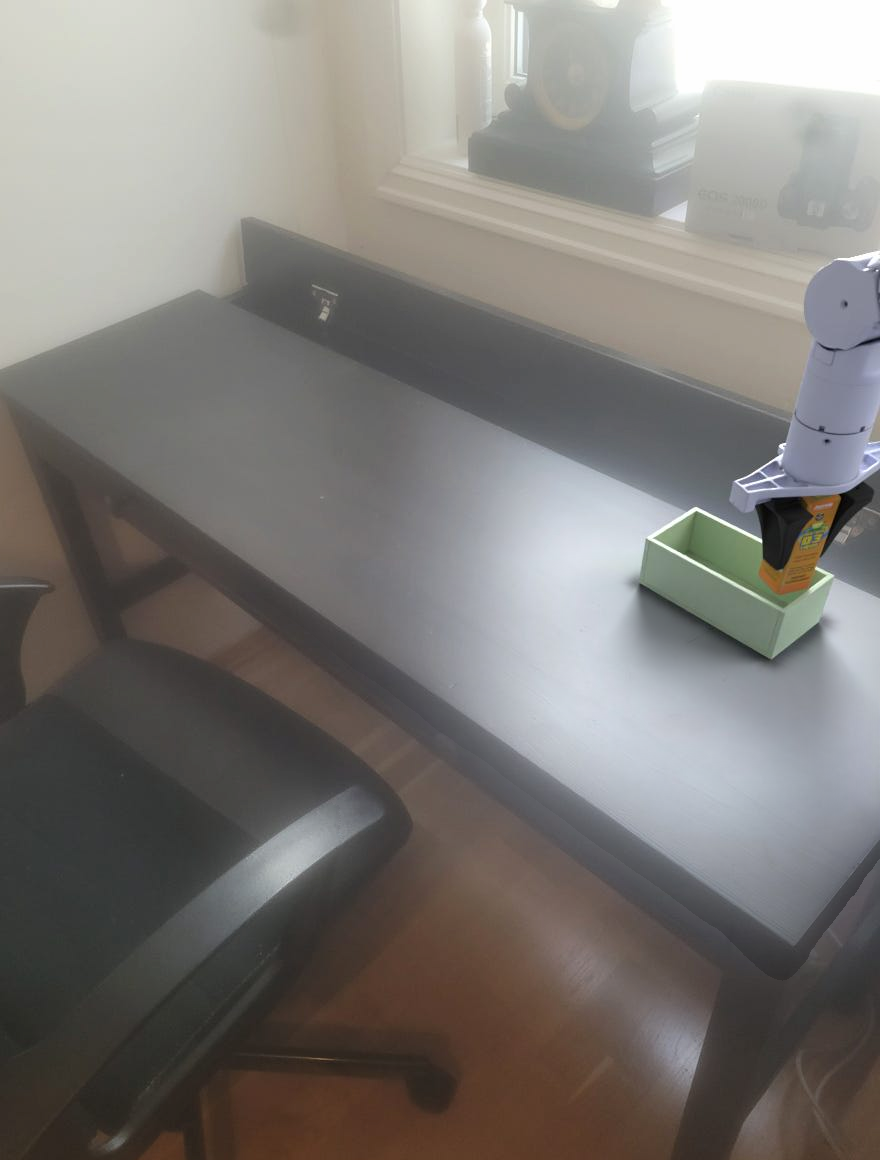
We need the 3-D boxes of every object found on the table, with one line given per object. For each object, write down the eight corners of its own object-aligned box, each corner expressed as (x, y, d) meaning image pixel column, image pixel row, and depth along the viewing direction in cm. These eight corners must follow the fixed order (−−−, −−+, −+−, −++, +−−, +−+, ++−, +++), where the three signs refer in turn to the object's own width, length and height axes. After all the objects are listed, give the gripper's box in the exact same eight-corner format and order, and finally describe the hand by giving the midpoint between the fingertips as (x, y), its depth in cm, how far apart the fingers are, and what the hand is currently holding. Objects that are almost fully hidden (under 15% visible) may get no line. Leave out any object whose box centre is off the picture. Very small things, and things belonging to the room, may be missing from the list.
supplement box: (778, 599, 78) (806, 503, 71) (756, 575, 80) (781, 481, 74) (812, 590, 78) (843, 495, 72) (789, 567, 81) (817, 473, 74)
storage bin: (819, 621, 83) (834, 575, 79) (771, 660, 80) (785, 613, 76) (686, 551, 92) (695, 506, 88) (638, 582, 89) (645, 538, 85)
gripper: (875, 374, 72) (831, 513, 82) (720, 413, 70) (693, 552, 79) (941, 413, 67) (886, 556, 77) (777, 456, 65) (741, 600, 74)
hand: (792, 557), depth 77 cm, fingers closed on supplement box, 3 cm apart
